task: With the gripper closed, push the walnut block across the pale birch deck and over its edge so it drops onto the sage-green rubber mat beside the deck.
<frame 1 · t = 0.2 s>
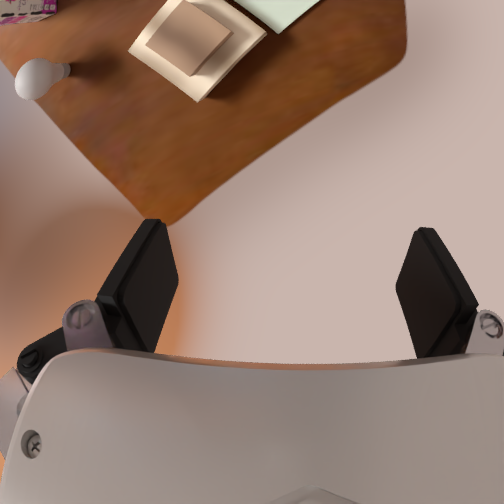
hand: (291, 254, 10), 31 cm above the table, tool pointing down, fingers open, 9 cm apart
lightbulb: (68, 69, 31), on the table
walnut block: (189, 37, 25), point 5 cm above the table, touching birch deck
birch deck: (200, 39, 29), on the table
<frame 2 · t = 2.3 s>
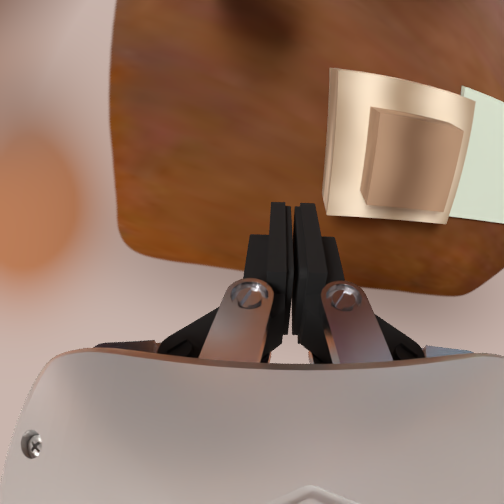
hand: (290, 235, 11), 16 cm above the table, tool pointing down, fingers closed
sage mat: (491, 162, 21), on the table
walnut block: (411, 160, 19), point 5 cm above the table, touching birch deck
birch deck: (390, 140, 23), on the table
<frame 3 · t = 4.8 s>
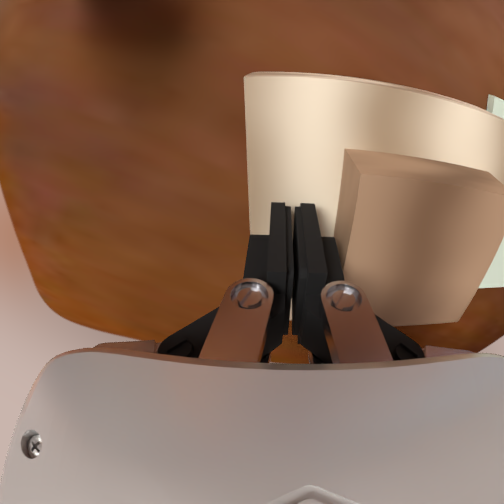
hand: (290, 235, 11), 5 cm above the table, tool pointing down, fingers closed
walnut block: (417, 249, 11), point 5 cm above the table, touching birch deck, gripper
birch deck: (367, 189, 15), on the table
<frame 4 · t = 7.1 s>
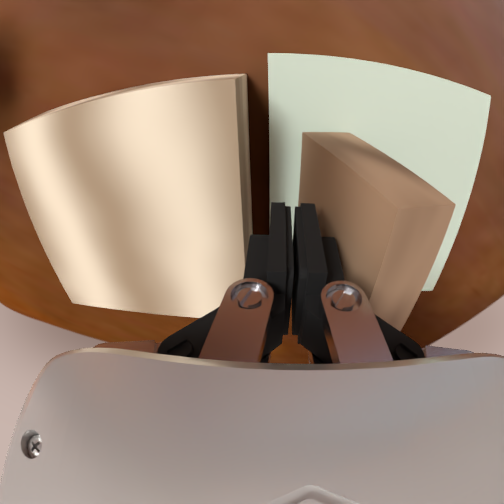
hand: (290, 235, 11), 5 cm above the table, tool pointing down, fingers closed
sage mat: (378, 192, 15), on the table
walnut block: (352, 238, 12), point 4 cm above the table, tilted 106°, touching sage mat
birch deck: (146, 189, 16), on the table
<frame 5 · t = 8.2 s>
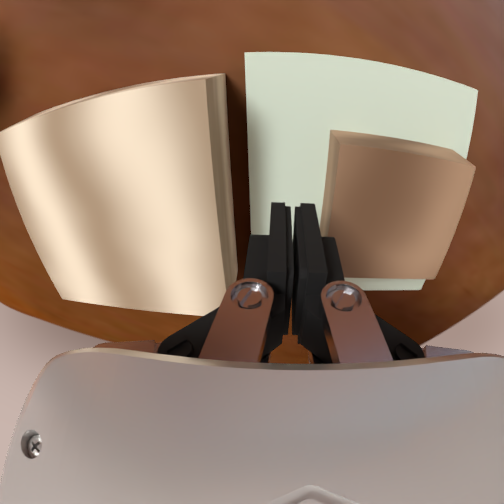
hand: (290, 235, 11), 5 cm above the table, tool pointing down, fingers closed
sage mat: (361, 189, 15), on the table
walnut block: (392, 210, 13), point 2 cm above the table, tilted 180°, touching sage mat
birch deck: (131, 188, 16), on the table
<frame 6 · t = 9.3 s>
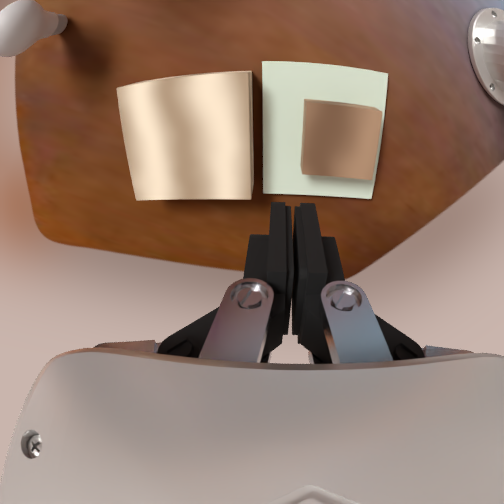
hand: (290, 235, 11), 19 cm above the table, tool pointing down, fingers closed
lightbulb: (64, 24, 19), on the table
sage mat: (323, 131, 26), on the table
walnut block: (339, 139, 25), point 2 cm above the table, tilted 180°, touching sage mat
birch deck: (194, 130, 27), on the table
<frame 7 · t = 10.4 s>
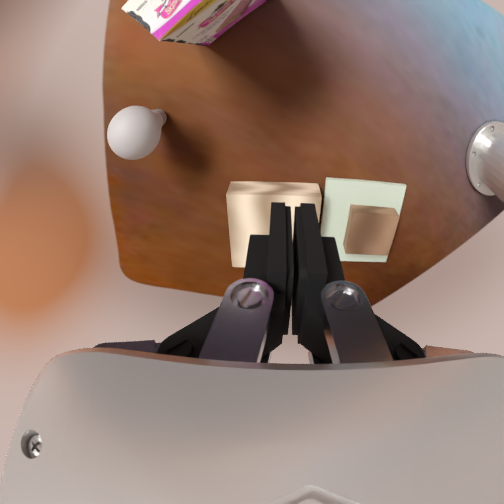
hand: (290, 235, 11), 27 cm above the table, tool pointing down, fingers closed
lightbulb: (160, 116, 34), on the table
sage mat: (359, 222, 42), on the table
candy bar box: (230, 8, 25), on the table
walnut block: (370, 230, 40), point 2 cm above the table, tilted 180°, touching sage mat
birch deck: (274, 219, 43), on the table
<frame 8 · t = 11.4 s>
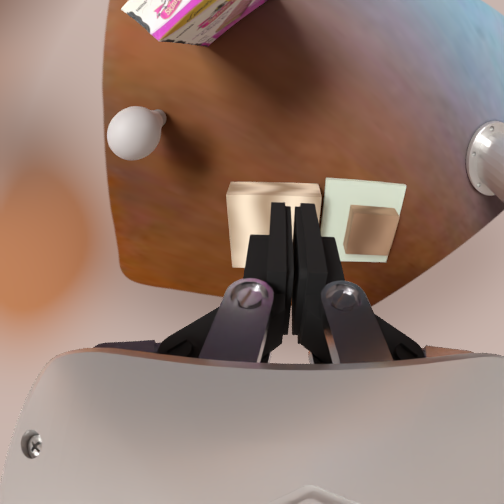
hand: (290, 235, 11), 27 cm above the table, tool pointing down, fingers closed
lightbulb: (160, 116, 34), on the table
sage mat: (359, 222, 42), on the table
candy bar box: (230, 8, 25), on the table
walnut block: (370, 231, 40), point 2 cm above the table, tilted 180°, touching sage mat
birch deck: (274, 219, 43), on the table
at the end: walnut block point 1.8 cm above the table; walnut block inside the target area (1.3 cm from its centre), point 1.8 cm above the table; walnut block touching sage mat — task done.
